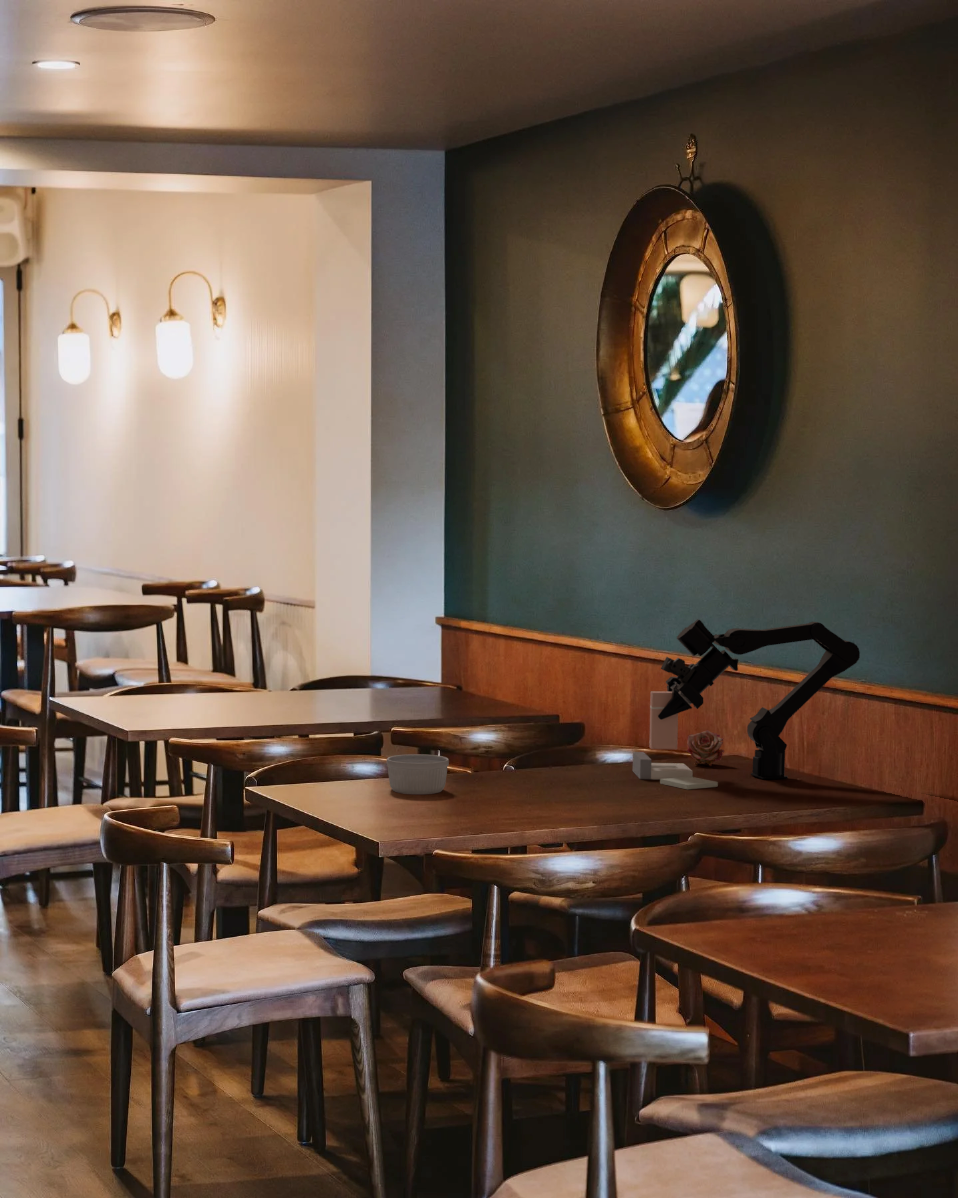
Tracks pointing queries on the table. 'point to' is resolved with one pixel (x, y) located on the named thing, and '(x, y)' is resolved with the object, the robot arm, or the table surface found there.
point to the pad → (688, 782)
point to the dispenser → (658, 768)
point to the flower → (705, 747)
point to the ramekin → (417, 773)
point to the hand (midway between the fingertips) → (658, 717)
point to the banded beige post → (662, 722)
